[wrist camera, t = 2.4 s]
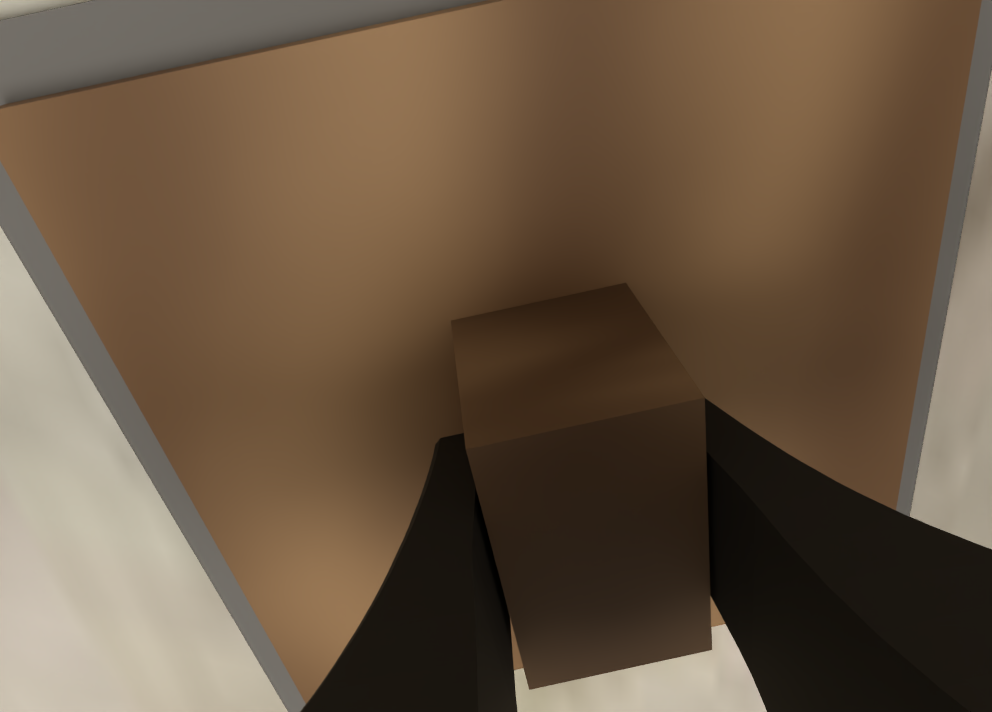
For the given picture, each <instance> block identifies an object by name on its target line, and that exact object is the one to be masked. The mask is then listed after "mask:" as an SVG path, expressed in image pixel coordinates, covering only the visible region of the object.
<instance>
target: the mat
mask: <svg viewBox="0 0 992 712" xmlns="http://www.w3.org/2000/svg"><path fill="white" fill-rule="evenodd" d="M482 1H486V0H93V1H88V2H84V3H79V4H74V5H70V6H65V7H60V8H56V9H51V10H46V11H42V12H37V13H32V14H28V15H23V16H19V17H14V18H9V19H5V20H0V106H1V105H4V104H8V103H13V102H18V101H22V100H27V99H32V98H36V97H41V96H45V95H50V94H55V93H59V92H64V91H69V90H73V89H78V88H83V87H87V86H92V85H97V84H101V83H106V82H110V81H115V80H120V79H124V78H129V77H134V76H138V75H143V74H148V73H152V72H157V71H161V70H166V69H171V68H175V67H180V66H185V65H189V64H194V63H199V62H203V61H208V60H213V59H217V58H222V57H226V56H231V55H236V54H240V53H245V52H250V51H254V50H259V49H264V48H268V47H273V46H277V45H282V44H287V43H291V42H296V41H301V40H305V39H310V38H315V37H319V36H324V35H329V34H333V33H338V32H342V31H347V30H352V29H356V28H361V27H366V26H370V25H375V24H380V23H384V22H389V21H393V20H398V19H403V18H407V17H412V16H417V15H421V14H426V13H431V12H435V11H440V10H445V9H449V8H454V7H458V6H463V5H468V4H472V3H477V2H482ZM991 70H992V0H982V2H981V8H980V14H979V20H978V26H977V32H976V38H975V44H974V50H973V56H972V62H971V68H970V74H969V80H968V85H967V91H966V97H965V103H964V109H963V115H962V121H961V127H960V133H959V139H958V145H957V151H956V157H955V163H954V169H953V175H952V181H951V186H950V192H949V198H948V204H947V210H946V216H945V222H944V228H943V234H942V240H941V246H940V252H939V258H938V264H937V270H936V276H935V282H934V287H933V293H932V299H931V305H930V311H929V317H928V323H927V329H926V335H925V341H924V347H923V353H922V359H921V365H920V371H919V377H918V382H917V388H916V394H915V400H914V406H913V412H912V418H911V424H910V430H909V436H908V442H907V448H906V454H905V460H904V466H903V472H902V478H901V483H900V489H899V495H898V501H897V507H896V511H898V512H900V513H902V514H905V515H907V516H910V511H911V505H912V500H913V494H914V489H915V484H916V478H917V473H918V467H919V462H920V456H921V451H922V445H923V440H924V434H925V429H926V424H927V418H928V413H929V407H930V402H931V396H932V391H933V385H934V380H935V375H936V369H937V364H938V358H939V353H940V347H941V342H942V336H943V331H944V326H945V320H946V315H947V309H948V304H949V298H950V293H951V287H952V282H953V277H954V271H955V266H956V260H957V255H958V249H959V244H960V238H961V233H962V228H963V222H964V217H965V211H966V206H967V200H968V195H969V189H970V184H971V179H972V173H973V168H974V162H975V157H976V151H977V146H978V140H979V135H980V129H981V124H982V119H983V113H984V108H985V102H986V97H987V91H988V86H989V80H990V75H991ZM0 226H1V228H2V229H3V231H4V233H5V234H6V236H7V238H8V239H9V241H10V243H11V245H12V246H13V248H14V250H15V251H16V253H17V255H18V256H19V258H20V260H21V261H22V263H23V265H24V267H25V268H26V270H27V272H28V273H29V275H30V277H31V278H32V280H33V282H34V283H35V285H36V287H37V288H38V290H39V292H40V294H41V295H42V297H43V299H44V300H45V302H46V304H47V305H48V307H49V309H50V310H51V312H52V314H53V315H54V317H55V319H56V321H57V322H58V324H59V326H60V327H61V329H62V331H63V332H64V334H65V336H66V337H67V339H68V341H69V342H70V344H71V346H72V348H73V349H74V351H75V353H76V354H77V356H78V358H79V359H80V361H81V363H82V364H83V366H84V368H85V370H86V371H87V373H88V375H89V376H90V378H91V380H92V381H93V383H94V385H95V386H96V388H97V390H98V391H99V393H100V395H101V397H102V398H103V400H104V402H105V403H106V405H107V407H108V408H109V410H110V412H111V413H112V415H113V417H114V418H115V420H116V422H117V424H118V425H119V427H120V429H121V430H122V432H123V434H124V435H125V437H126V439H127V440H128V442H129V444H130V446H131V447H132V449H133V451H134V452H135V454H136V456H137V457H138V459H139V461H140V462H141V464H142V466H143V467H144V469H145V471H146V473H147V474H148V476H149V478H150V479H151V481H152V483H153V484H154V486H155V488H156V489H157V491H158V493H159V494H160V496H161V498H162V500H163V501H164V503H165V505H166V506H167V508H168V510H169V511H170V513H171V515H172V516H173V518H174V520H175V521H176V523H177V525H178V527H179V528H180V530H181V532H182V533H183V535H184V537H185V538H186V540H187V542H188V543H189V545H190V547H191V549H192V550H193V552H194V554H195V555H196V557H197V559H198V560H199V562H200V564H201V565H202V567H203V569H204V570H205V572H206V574H207V576H208V577H209V579H210V581H211V582H212V584H213V586H214V587H215V589H216V591H217V592H218V594H219V596H220V597H221V599H222V601H223V603H224V604H225V606H226V608H227V609H228V611H229V613H230V614H231V616H232V618H233V619H234V621H235V623H236V624H237V626H238V628H239V630H240V631H241V633H242V635H243V636H244V638H245V640H246V641H247V643H248V645H249V646H250V648H251V650H252V652H253V653H254V655H255V657H256V658H257V660H258V662H259V663H260V665H261V667H262V668H263V670H264V672H265V673H266V675H267V677H268V679H269V680H270V682H271V684H272V685H273V687H274V689H275V690H276V692H277V694H278V695H279V697H280V699H281V700H282V702H283V704H284V706H285V707H286V709H287V711H288V712H300V711H301V710H302V709H303V707H304V706H305V705H306V703H305V701H304V700H303V698H302V696H301V694H300V693H299V691H298V689H297V687H296V685H295V684H294V682H293V680H292V678H291V677H290V675H289V673H288V671H287V669H286V668H285V666H284V664H283V662H282V661H281V659H280V657H279V655H278V653H277V652H276V650H275V648H274V646H273V645H272V643H271V641H270V639H269V637H268V636H267V634H266V632H265V630H264V629H263V627H262V625H261V623H260V621H259V620H258V618H257V616H256V614H255V613H254V611H253V609H252V607H251V605H250V604H249V602H248V600H247V598H246V597H245V595H244V593H243V591H242V589H241V588H240V586H239V584H238V582H237V581H236V579H235V577H234V575H233V573H232V572H231V570H230V568H229V566H228V565H227V563H226V561H225V559H224V557H223V556H222V554H221V552H220V550H219V549H218V547H217V545H216V543H215V542H214V540H213V538H212V536H211V534H210V533H209V531H208V529H207V527H206V526H205V524H204V522H203V520H202V518H201V517H200V515H199V513H198V511H197V510H196V508H195V506H194V504H193V502H192V501H191V499H190V497H189V495H188V494H187V492H186V490H185V488H184V486H183V485H182V483H181V481H180V479H179V478H178V476H177V474H176V472H175V470H174V469H173V467H172V465H171V463H170V462H169V460H168V458H167V456H166V454H165V453H164V451H163V449H162V447H161V446H160V444H159V442H158V440H157V438H156V437H155V435H154V433H153V431H152V430H151V428H150V426H149V424H148V422H147V421H146V419H145V417H144V415H143V414H142V412H141V410H140V408H139V406H138V405H137V403H136V401H135V399H134V398H133V396H132V394H131V392H130V390H129V389H128V387H127V385H126V383H125V382H124V380H123V378H122V376H121V375H120V373H119V371H118V369H117V367H116V366H115V364H114V362H113V360H112V359H111V357H110V355H109V353H108V351H107V350H106V348H105V346H104V344H103V343H102V341H101V339H100V337H99V335H98V334H97V332H96V330H95V328H94V327H93V325H92V323H91V321H90V319H89V318H88V316H87V314H86V312H85V311H84V309H83V307H82V305H81V303H80V302H79V300H78V298H77V296H76V295H75V293H74V291H73V289H72V287H71V286H70V284H69V282H68V280H67V279H66V277H65V275H64V273H63V271H62V270H61V268H60V266H59V264H58V263H57V261H56V259H55V257H54V255H53V254H52V252H51V250H50V248H49V247H48V245H47V243H46V241H45V239H44V238H43V236H42V234H41V232H40V231H39V229H38V227H37V225H36V223H35V222H34V220H33V218H32V216H31V215H30V213H29V211H28V209H27V208H26V206H25V204H24V202H23V200H22V199H21V197H20V195H19V193H18V192H17V190H16V188H15V186H14V184H13V183H12V181H11V179H10V177H9V176H8V174H7V172H6V170H5V168H4V167H3V165H2V163H1V161H0Z"/></svg>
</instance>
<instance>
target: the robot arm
mask: <svg viewBox="0 0 992 712" xmlns="http://www.w3.org/2000/svg"><path fill="white" fill-rule="evenodd" d="M705 422H706V457H707V492H708V528H709V563H710V596H711V598H712V600H713V601H714V603H715V605H716V607H717V609H718V611H719V612H720V614H721V616H722V618H723V620H724V622H725V624H726V625H727V627H728V629H729V631H730V633H731V635H732V637H733V638H734V640H735V642H736V644H737V646H738V648H739V650H740V652H741V654H742V656H743V658H744V660H745V662H746V664H747V666H748V668H749V670H750V672H751V674H752V677H753V679H754V681H755V684H756V686H757V688H758V691H759V693H760V696H761V698H762V700H763V703H764V705H765V707H766V710H767V712H992V549H989V548H986V547H983V546H981V545H978V544H975V543H973V542H970V541H968V540H965V539H963V538H960V537H958V536H955V535H953V534H950V533H948V532H945V531H943V530H940V529H938V528H935V527H933V526H930V525H928V524H925V523H923V522H921V521H918V520H916V519H914V518H911V517H909V516H907V515H905V514H902V513H900V512H898V511H896V510H894V509H892V508H890V507H887V506H885V505H883V504H881V503H879V502H877V501H875V500H873V499H871V498H869V497H866V496H864V495H862V494H860V493H858V492H856V491H854V490H852V489H850V488H848V487H846V486H844V485H843V484H841V483H839V482H837V481H835V480H833V479H831V478H830V477H828V476H826V475H824V474H823V473H821V472H819V471H817V470H815V469H814V468H812V467H810V466H808V465H807V464H805V463H803V462H801V461H800V460H798V459H796V458H795V457H793V456H791V455H790V454H788V453H786V452H785V451H783V450H782V449H780V448H778V447H777V446H775V445H774V444H772V443H771V442H769V441H768V440H766V439H764V438H763V437H761V436H760V435H758V434H757V433H755V432H754V431H752V430H751V429H749V428H748V427H746V426H745V425H743V424H742V423H740V422H739V421H737V420H736V419H735V418H733V417H732V416H730V415H729V414H727V413H726V412H724V411H723V410H722V409H720V408H719V407H717V406H716V405H715V404H713V403H712V402H710V401H709V400H707V399H706V398H705ZM300 712H517V704H516V694H515V680H514V665H513V651H512V637H511V622H510V615H509V611H508V607H507V603H506V599H505V596H504V592H503V588H502V584H501V581H500V577H499V573H498V569H497V565H496V562H495V558H494V554H493V550H492V547H491V543H490V539H489V535H488V531H487V528H486V524H485V520H484V516H483V513H482V509H481V505H480V501H479V497H478V494H477V490H476V486H475V482H474V479H473V475H472V471H471V467H470V463H469V460H468V456H467V452H466V447H465V438H464V433H461V434H456V435H452V436H447V437H442V438H440V439H439V440H438V442H437V443H436V444H435V448H434V453H433V457H432V461H431V465H430V468H429V472H428V475H427V478H426V481H425V484H424V487H423V490H422V493H421V496H420V499H419V501H418V504H417V506H416V509H415V512H414V514H413V517H412V519H411V522H410V525H409V527H408V530H407V532H406V534H405V537H404V539H403V541H402V543H401V545H400V547H399V550H398V552H397V554H396V556H395V558H394V560H393V563H392V565H391V567H390V569H389V571H388V573H387V575H386V577H385V579H384V581H383V583H382V585H381V587H380V589H379V591H378V593H377V595H376V596H375V598H374V600H373V602H372V604H371V606H370V607H369V609H368V611H367V612H366V614H365V616H364V618H363V619H362V621H361V623H360V625H359V626H358V628H357V630H356V631H355V633H354V634H353V636H352V638H351V639H350V641H349V642H348V644H347V645H346V647H345V648H344V650H343V652H342V653H341V655H340V656H339V658H338V659H337V661H336V662H335V664H334V666H333V667H332V669H331V670H330V671H329V673H328V674H327V676H326V677H325V679H324V680H323V682H322V683H321V685H320V686H319V687H318V689H317V690H316V692H315V693H314V694H313V696H312V697H311V698H310V699H309V701H308V702H307V703H306V705H305V706H304V707H303V709H302V710H301V711H300Z"/></svg>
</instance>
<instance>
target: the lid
mask: <svg viewBox="0 0 992 712" xmlns="http://www.w3.org/2000/svg"><path fill="white" fill-rule="evenodd" d="M981 2H982V0H486V1H482V2H477V3H472V4H468V5H463V6H458V7H454V8H449V9H445V10H440V11H435V12H431V13H426V14H421V15H417V16H412V17H407V18H403V19H398V20H393V21H389V22H384V23H380V24H375V25H370V26H366V27H361V28H356V29H352V30H347V31H342V32H338V33H333V34H329V35H324V36H319V37H315V38H310V39H305V40H301V41H296V42H291V43H287V44H282V45H277V46H273V47H268V48H264V49H259V50H254V51H250V52H245V53H240V54H236V55H231V56H226V57H222V58H217V59H213V60H208V61H203V62H199V63H194V64H189V65H185V66H180V67H175V68H171V69H166V70H161V71H157V72H152V73H148V74H143V75H138V76H134V77H129V78H124V79H120V80H115V81H110V82H106V83H101V84H97V85H92V86H87V87H83V88H78V89H73V90H69V91H64V92H59V93H55V94H50V95H45V96H41V97H36V98H32V99H27V100H22V101H18V102H13V103H8V104H4V105H1V106H0V161H1V163H2V165H3V167H4V168H5V170H6V172H7V174H8V176H9V177H10V179H11V181H12V183H13V184H14V186H15V188H16V190H17V192H18V193H19V195H20V197H21V199H22V200H23V202H24V204H25V206H26V208H27V209H28V211H29V213H30V215H31V216H32V218H33V220H34V222H35V223H36V225H37V227H38V229H39V231H40V232H41V234H42V236H43V238H44V239H45V241H46V243H47V245H48V247H49V248H50V250H51V252H52V254H53V255H54V257H55V259H56V261H57V263H58V264H59V266H60V268H61V270H62V271H63V273H64V275H65V277H66V279H67V280H68V282H69V284H70V286H71V287H72V289H73V291H74V293H75V295H76V296H77V298H78V300H79V302H80V303H81V305H82V307H83V309H84V311H85V312H86V314H87V316H88V318H89V319H90V321H91V323H92V325H93V327H94V328H95V330H96V332H97V334H98V335H99V337H100V339H101V341H102V343H103V344H104V346H105V348H106V350H107V351H108V353H109V355H110V357H111V359H112V360H113V362H114V364H115V366H116V367H117V369H118V371H119V373H120V375H121V376H122V378H123V380H124V382H125V383H126V385H127V387H128V389H129V390H130V392H131V394H132V396H133V398H134V399H135V401H136V403H137V405H138V406H139V408H140V410H141V412H142V414H143V415H144V417H145V419H146V421H147V422H148V424H149V426H150V428H151V430H152V431H153V433H154V435H155V437H156V438H157V440H158V442H159V444H160V446H161V447H162V449H163V451H164V453H165V454H166V456H167V458H168V460H169V462H170V463H171V465H172V467H173V469H174V470H175V472H176V474H177V476H178V478H179V479H180V481H181V483H182V485H183V486H184V488H185V490H186V492H187V494H188V495H189V497H190V499H191V501H192V502H193V504H194V506H195V508H196V510H197V511H198V513H199V515H200V517H201V518H202V520H203V522H204V524H205V526H206V527H207V529H208V531H209V533H210V534H211V536H212V538H213V540H214V542H215V543H216V545H217V547H218V549H219V550H220V552H221V554H222V556H223V557H224V559H225V561H226V563H227V565H228V566H229V568H230V570H231V572H232V573H233V575H234V577H235V579H236V581H237V582H238V584H239V586H240V588H241V589H242V591H243V593H244V595H245V597H246V598H247V600H248V602H249V604H250V605H251V607H252V609H253V611H254V613H255V614H256V616H257V618H258V620H259V621H260V623H261V625H262V627H263V629H264V630H265V632H266V634H267V636H268V637H269V639H270V641H271V643H272V645H273V646H274V648H275V650H276V652H277V653H278V655H279V657H280V659H281V661H282V662H283V664H284V666H285V668H286V669H287V671H288V673H289V675H290V677H291V678H292V680H293V682H294V684H295V685H296V687H297V689H298V691H299V693H300V694H301V696H302V698H303V700H304V701H305V703H307V702H308V701H309V699H310V698H311V697H312V696H313V694H314V693H315V692H316V690H317V689H318V687H319V686H320V685H321V683H322V682H323V680H324V679H325V677H326V676H327V674H328V673H329V671H330V670H331V669H332V667H333V666H334V664H335V662H336V661H337V659H338V658H339V656H340V655H341V653H342V652H343V650H344V648H345V647H346V645H347V644H348V642H349V641H350V639H351V638H352V636H353V634H354V633H355V631H356V630H357V628H358V626H359V625H360V623H361V621H362V619H363V618H364V616H365V614H366V612H367V611H368V609H369V607H370V606H371V604H372V602H373V600H374V598H375V596H376V595H377V593H378V591H379V589H380V587H381V585H382V583H383V581H384V579H385V577H386V575H387V573H388V571H389V569H390V567H391V565H392V563H393V560H394V558H395V556H396V554H397V552H398V550H399V547H400V545H401V543H402V541H403V539H404V537H405V534H406V532H407V530H408V527H409V525H410V522H411V519H412V517H413V514H414V512H415V509H416V506H417V504H418V501H419V499H420V496H421V493H422V490H423V487H424V484H425V481H426V478H427V475H428V472H429V468H430V465H431V461H432V457H433V453H434V448H435V444H436V443H437V442H438V440H439V439H440V438H442V437H447V436H452V435H456V434H461V433H464V438H465V447H466V452H467V456H468V460H469V463H470V467H471V471H472V475H473V479H474V482H475V486H476V490H477V494H478V497H479V501H480V505H481V509H482V513H483V516H484V520H485V524H486V528H487V531H488V535H489V539H490V543H491V547H492V550H493V554H494V558H495V562H496V565H497V569H498V573H499V577H500V581H501V584H502V588H503V592H504V596H505V599H506V603H507V607H508V611H509V615H510V622H511V637H512V651H513V665H514V670H516V669H521V668H524V671H525V675H526V679H527V683H528V686H529V690H530V689H535V688H539V687H544V686H548V685H553V684H558V683H562V682H567V681H571V680H576V679H581V678H585V677H590V676H594V675H599V674H603V673H608V672H613V671H617V670H622V669H626V668H631V667H635V666H640V665H645V664H649V663H654V662H658V661H663V660H668V659H672V658H677V657H681V656H686V655H690V654H695V653H700V652H704V651H709V650H712V634H711V627H713V626H718V625H723V624H725V622H724V620H723V618H722V616H721V614H720V612H719V611H718V609H717V607H716V605H715V603H714V601H713V600H712V598H711V596H710V563H709V528H708V492H707V457H706V422H705V398H706V399H707V400H709V401H710V402H712V403H713V404H715V405H716V406H717V407H719V408H720V409H722V410H723V411H724V412H726V413H727V414H729V415H730V416H732V417H733V418H735V419H736V420H737V421H739V422H740V423H742V424H743V425H745V426H746V427H748V428H749V429H751V430H752V431H754V432H755V433H757V434H758V435H760V436H761V437H763V438H764V439H766V440H768V441H769V442H771V443H772V444H774V445H775V446H777V447H778V448H780V449H782V450H783V451H785V452H786V453H788V454H790V455H791V456H793V457H795V458H796V459H798V460H800V461H801V462H803V463H805V464H807V465H808V466H810V467H812V468H814V469H815V470H817V471H819V472H821V473H823V474H824V475H826V476H828V477H830V478H831V479H833V480H835V481H837V482H839V483H841V484H843V485H844V486H846V487H848V488H850V489H852V490H854V491H856V492H858V493H860V494H862V495H864V496H866V497H869V498H871V499H873V500H875V501H877V502H879V503H881V504H883V505H885V506H887V507H890V508H892V509H894V510H896V507H897V501H898V495H899V489H900V483H901V478H902V472H903V466H904V460H905V454H906V448H907V442H908V436H909V430H910V424H911V418H912V412H913V406H914V400H915V394H916V388H917V382H918V377H919V371H920V365H921V359H922V353H923V347H924V341H925V335H926V329H927V323H928V317H929V311H930V305H931V299H932V293H933V287H934V282H935V276H936V270H937V264H938V258H939V252H940V246H941V240H942V234H943V228H944V222H945V216H946V210H947V204H948V198H949V192H950V186H951V181H952V175H953V169H954V163H955V157H956V151H957V145H958V139H959V133H960V127H961V121H962V115H963V109H964V103H965V97H966V91H967V85H968V80H969V74H970V68H971V62H972V56H973V50H974V44H975V38H976V32H977V26H978V20H979V14H980V8H981Z"/></svg>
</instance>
